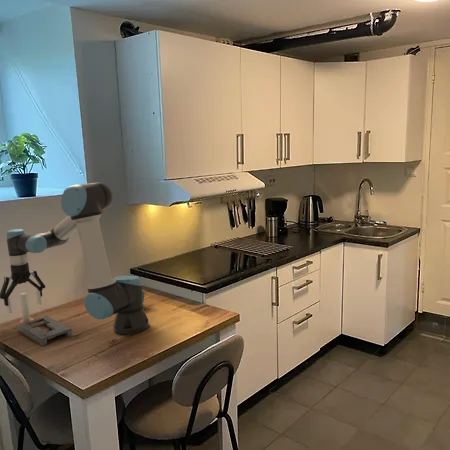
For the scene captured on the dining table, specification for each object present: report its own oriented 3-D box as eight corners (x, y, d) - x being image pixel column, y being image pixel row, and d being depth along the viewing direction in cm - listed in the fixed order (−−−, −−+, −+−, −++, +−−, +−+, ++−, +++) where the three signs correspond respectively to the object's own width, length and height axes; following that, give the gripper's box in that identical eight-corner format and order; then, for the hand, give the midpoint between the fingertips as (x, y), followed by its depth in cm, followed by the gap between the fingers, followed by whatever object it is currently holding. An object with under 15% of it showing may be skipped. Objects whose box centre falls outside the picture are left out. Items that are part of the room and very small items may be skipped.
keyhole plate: (72, 335, 191) (71, 328, 190) (42, 345, 181) (41, 338, 181) (47, 321, 207) (46, 315, 207) (18, 330, 198) (17, 324, 198)
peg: (36, 322, 207) (32, 293, 205) (23, 326, 203) (19, 296, 201) (30, 319, 212) (27, 290, 209) (17, 323, 207) (14, 294, 205)
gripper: (42, 256, 214) (47, 298, 218) (-14, 268, 196) (-7, 313, 200) (49, 258, 209) (54, 302, 212) (-7, 270, 191) (-1, 317, 195)
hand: (24, 307), depth 206 cm, fingers open, 13 cm apart
